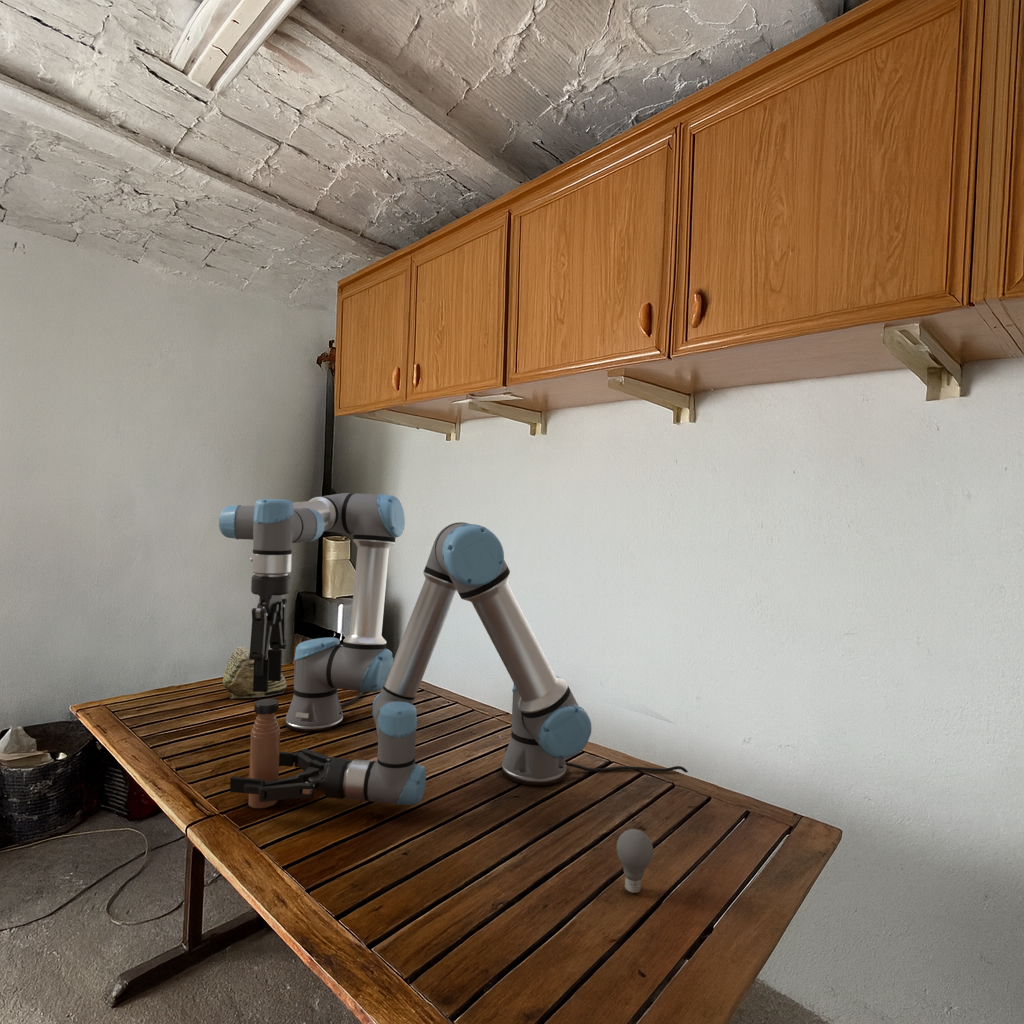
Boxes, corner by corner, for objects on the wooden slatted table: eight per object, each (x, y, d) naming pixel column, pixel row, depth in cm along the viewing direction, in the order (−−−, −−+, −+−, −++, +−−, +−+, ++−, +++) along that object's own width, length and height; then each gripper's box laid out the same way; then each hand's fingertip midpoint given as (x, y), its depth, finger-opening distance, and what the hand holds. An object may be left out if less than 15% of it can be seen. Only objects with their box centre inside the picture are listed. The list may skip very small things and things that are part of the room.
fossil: (218, 695, 195) (220, 647, 195) (278, 685, 208) (279, 640, 207) (228, 703, 189) (230, 653, 188) (289, 692, 201) (290, 645, 201)
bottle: (241, 804, 129) (245, 705, 129) (262, 792, 134) (266, 698, 134) (263, 810, 127) (267, 710, 126) (283, 798, 132) (287, 702, 132)
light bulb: (610, 879, 108) (613, 822, 108) (644, 879, 109) (647, 822, 109) (619, 902, 102) (622, 840, 102) (655, 901, 103) (658, 840, 103)
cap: (249, 712, 129) (249, 703, 129) (266, 705, 133) (266, 697, 133) (266, 716, 127) (267, 707, 127) (283, 709, 132) (283, 700, 131)
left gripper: (270, 568, 140) (266, 672, 140) (232, 579, 120) (228, 700, 120) (304, 569, 140) (300, 673, 140) (272, 581, 120) (268, 701, 120)
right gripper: (324, 828, 116) (214, 817, 119) (367, 771, 141) (275, 763, 143) (325, 787, 116) (215, 777, 118) (369, 738, 141) (277, 730, 143)
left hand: (267, 685), depth 130 cm, fingers open, 7 cm apart
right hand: (248, 770), depth 131 cm, fingers open, 12 cm apart
